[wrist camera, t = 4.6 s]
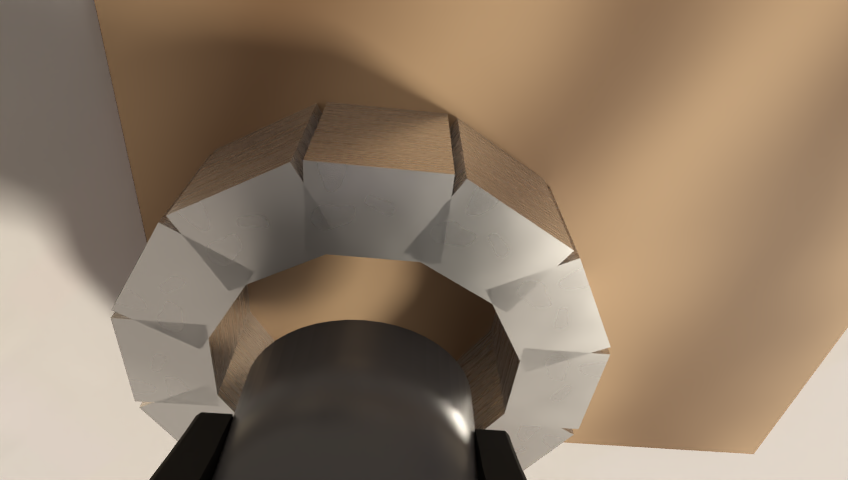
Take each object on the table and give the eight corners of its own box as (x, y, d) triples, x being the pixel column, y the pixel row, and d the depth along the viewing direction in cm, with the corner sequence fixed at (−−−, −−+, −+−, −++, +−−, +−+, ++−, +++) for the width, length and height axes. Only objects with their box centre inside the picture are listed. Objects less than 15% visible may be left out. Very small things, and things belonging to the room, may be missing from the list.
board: (1303, -326, 9) (1338, -334, 8) (747, 444, 20) (753, 454, 19) (-11, -554, 7) (-32, -576, 7) (189, 409, 18) (185, 418, 18)
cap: (490, 329, 11) (518, 507, 8) (455, 475, 13) (465, 647, 10) (235, 310, 10) (160, 487, 7) (253, 464, 13) (203, 638, 10)
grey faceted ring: (625, 131, 12) (677, 195, 10) (524, 430, 18) (541, 516, 16) (135, 82, 12) (58, 136, 9) (198, 410, 18) (162, 496, 15)
